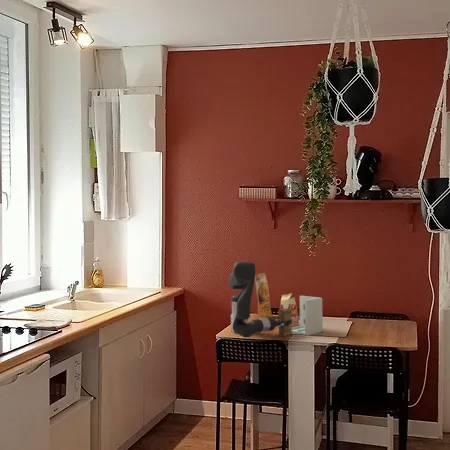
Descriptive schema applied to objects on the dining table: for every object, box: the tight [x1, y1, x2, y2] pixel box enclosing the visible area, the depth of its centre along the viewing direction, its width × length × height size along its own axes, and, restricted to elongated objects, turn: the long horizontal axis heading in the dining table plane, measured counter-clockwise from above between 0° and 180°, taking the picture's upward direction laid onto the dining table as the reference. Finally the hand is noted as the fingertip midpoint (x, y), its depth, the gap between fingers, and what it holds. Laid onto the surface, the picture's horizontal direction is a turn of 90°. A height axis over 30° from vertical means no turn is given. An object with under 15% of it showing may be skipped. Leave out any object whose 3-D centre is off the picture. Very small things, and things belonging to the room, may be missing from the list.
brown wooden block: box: [278, 308, 293, 337], centre depth 388 cm, size 4×6×14 cm, turn 133°
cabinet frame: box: [292, 295, 324, 337], centre depth 394 cm, size 15×13×19 cm
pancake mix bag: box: [254, 272, 273, 319], centre depth 443 cm, size 7×19×28 cm, turn 151°
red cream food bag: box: [279, 292, 300, 327], centre depth 410 cm, size 9×9×20 cm
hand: (285, 320), depth 388 cm, fingers open, 8 cm apart
